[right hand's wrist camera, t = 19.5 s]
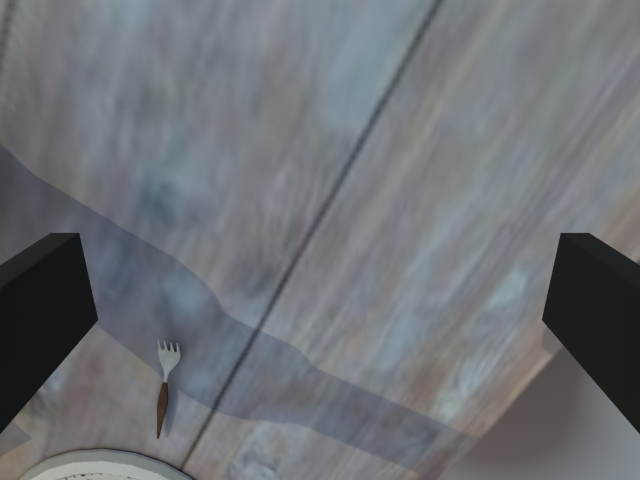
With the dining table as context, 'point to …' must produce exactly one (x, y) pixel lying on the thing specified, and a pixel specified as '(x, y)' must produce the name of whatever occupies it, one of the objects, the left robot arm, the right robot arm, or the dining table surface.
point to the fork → (165, 379)
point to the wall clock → (102, 467)
